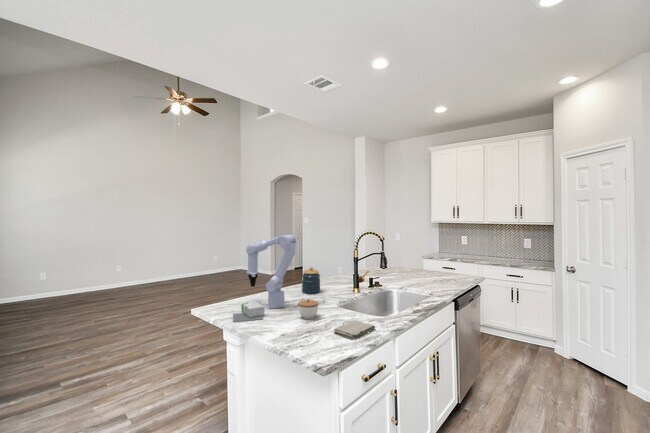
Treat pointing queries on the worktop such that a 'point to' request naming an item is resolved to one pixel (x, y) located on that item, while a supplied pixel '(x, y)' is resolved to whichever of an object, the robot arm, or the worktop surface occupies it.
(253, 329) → the worktop surface
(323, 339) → the worktop surface
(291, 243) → the robot arm
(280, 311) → the worktop surface
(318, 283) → the canister
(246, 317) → the mat
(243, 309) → the ink box
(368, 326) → the washcloth
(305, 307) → the lidded jar
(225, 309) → the worktop surface
